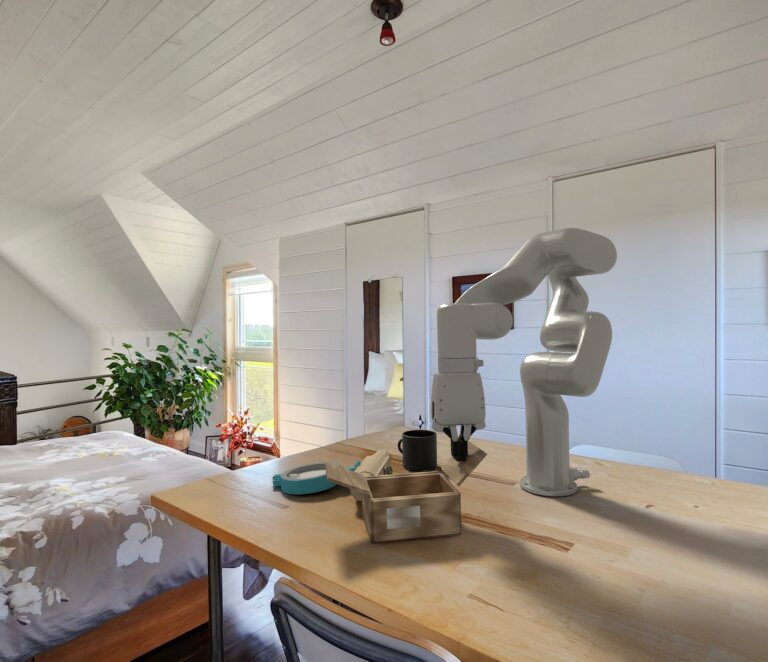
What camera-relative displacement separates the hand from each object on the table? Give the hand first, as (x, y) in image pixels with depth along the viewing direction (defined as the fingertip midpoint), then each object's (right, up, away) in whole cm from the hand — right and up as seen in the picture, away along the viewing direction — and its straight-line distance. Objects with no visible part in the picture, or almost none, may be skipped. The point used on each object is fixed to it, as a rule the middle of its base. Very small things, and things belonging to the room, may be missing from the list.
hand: (459, 459), depth 91 cm
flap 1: (-18, -4, -3) cm, 19 cm away
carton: (-10, -12, -2) cm, 16 cm away
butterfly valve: (-27, -13, +21) cm, 37 cm away
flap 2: (-2, -4, 0) cm, 4 cm away
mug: (-6, -12, +36) cm, 39 cm away
